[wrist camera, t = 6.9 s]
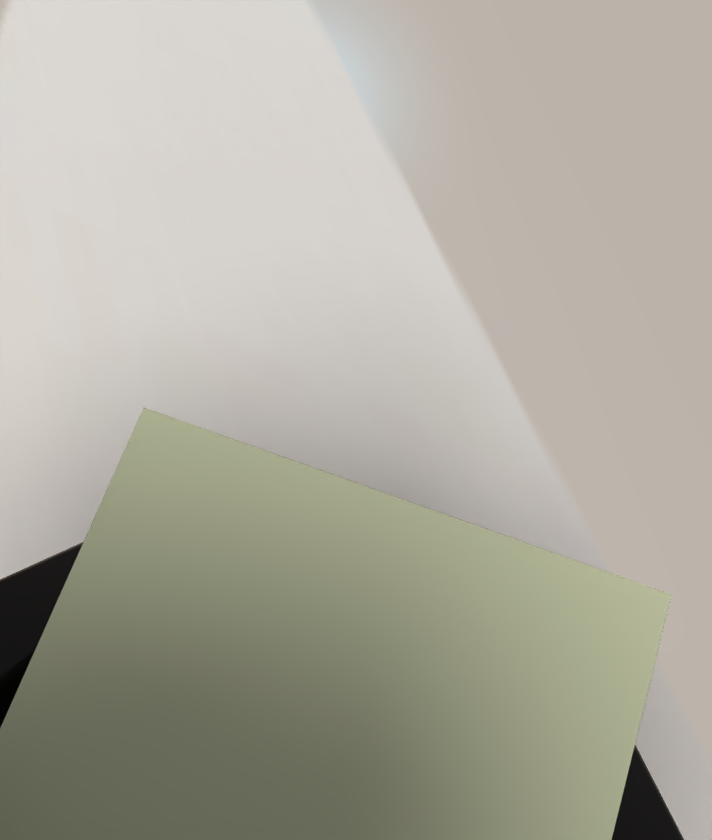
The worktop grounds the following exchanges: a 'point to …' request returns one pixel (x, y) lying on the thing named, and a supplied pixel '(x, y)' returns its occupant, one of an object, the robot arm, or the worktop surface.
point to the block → (318, 667)
